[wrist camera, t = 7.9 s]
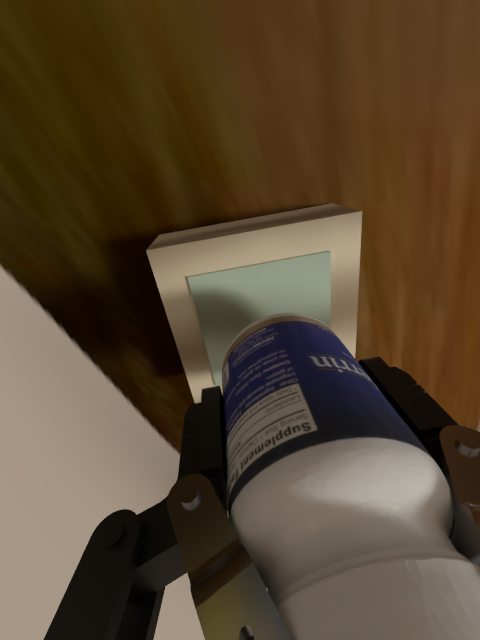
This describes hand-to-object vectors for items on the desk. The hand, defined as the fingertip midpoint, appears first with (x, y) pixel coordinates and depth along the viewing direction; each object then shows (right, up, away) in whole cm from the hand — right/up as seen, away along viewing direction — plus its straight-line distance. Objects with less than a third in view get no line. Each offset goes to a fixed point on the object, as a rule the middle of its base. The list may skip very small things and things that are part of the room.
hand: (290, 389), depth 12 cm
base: (-1, +4, +9) cm, 10 cm away
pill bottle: (0, +1, +2) cm, 2 cm away
